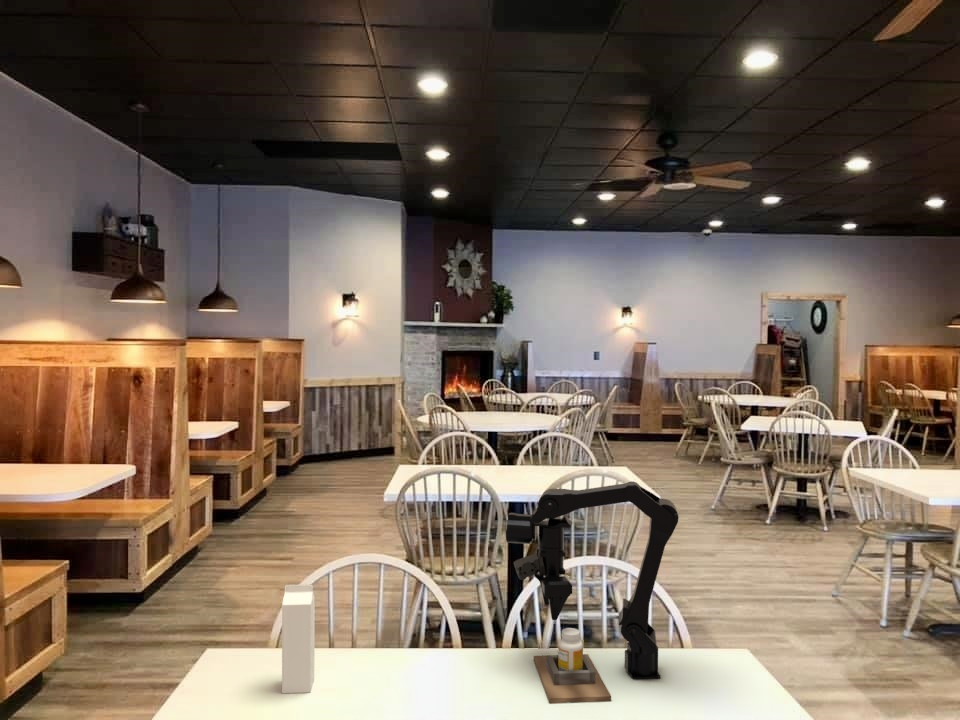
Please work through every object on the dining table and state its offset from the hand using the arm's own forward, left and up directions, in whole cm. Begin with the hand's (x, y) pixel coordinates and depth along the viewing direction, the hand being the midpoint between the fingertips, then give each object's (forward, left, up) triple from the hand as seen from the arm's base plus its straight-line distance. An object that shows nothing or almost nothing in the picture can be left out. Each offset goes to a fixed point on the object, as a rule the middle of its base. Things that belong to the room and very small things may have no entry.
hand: (550, 612), depth 164 cm
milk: (+56, +7, -12) cm, 58 cm away
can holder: (-3, +8, -12) cm, 15 cm away
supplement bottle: (-3, +8, -11) cm, 14 cm away
